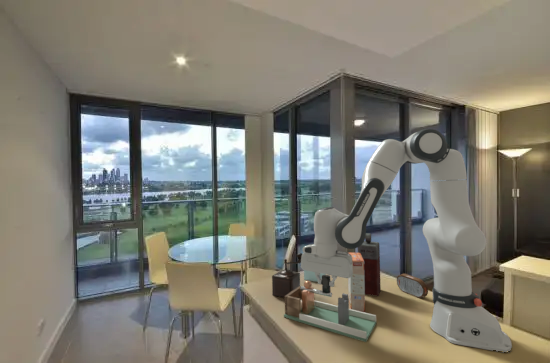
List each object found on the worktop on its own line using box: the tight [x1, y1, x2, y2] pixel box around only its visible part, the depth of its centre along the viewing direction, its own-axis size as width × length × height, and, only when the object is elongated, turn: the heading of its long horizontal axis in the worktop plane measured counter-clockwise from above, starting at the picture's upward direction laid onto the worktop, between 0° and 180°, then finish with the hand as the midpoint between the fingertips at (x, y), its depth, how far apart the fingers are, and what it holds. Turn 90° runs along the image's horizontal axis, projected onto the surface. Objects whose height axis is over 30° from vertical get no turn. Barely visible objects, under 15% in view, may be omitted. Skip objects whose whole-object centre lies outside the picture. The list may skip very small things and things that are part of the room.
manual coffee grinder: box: [271, 252, 303, 299], centre depth 132 cm, size 16×11×18 cm
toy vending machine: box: [356, 232, 382, 297], centre depth 131 cm, size 9×11×28 cm
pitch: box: [283, 292, 377, 343], centre depth 103 cm, size 32×14×10 cm, turn 56°
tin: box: [396, 273, 429, 299], centre depth 126 cm, size 15×3×8 cm, turn 25°
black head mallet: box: [300, 274, 333, 315], centre depth 106 cm, size 13×6×15 cm, turn 56°
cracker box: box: [347, 251, 366, 313], centre depth 116 cm, size 14×6×21 cm, turn 168°
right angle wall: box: [303, 270, 327, 283], centre depth 150 cm, size 12×12×8 cm
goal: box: [284, 285, 302, 318], centre depth 110 cm, size 7×12×7 cm, turn 146°
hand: (326, 285), depth 104 cm, fingers closed on black head mallet, 3 cm apart
